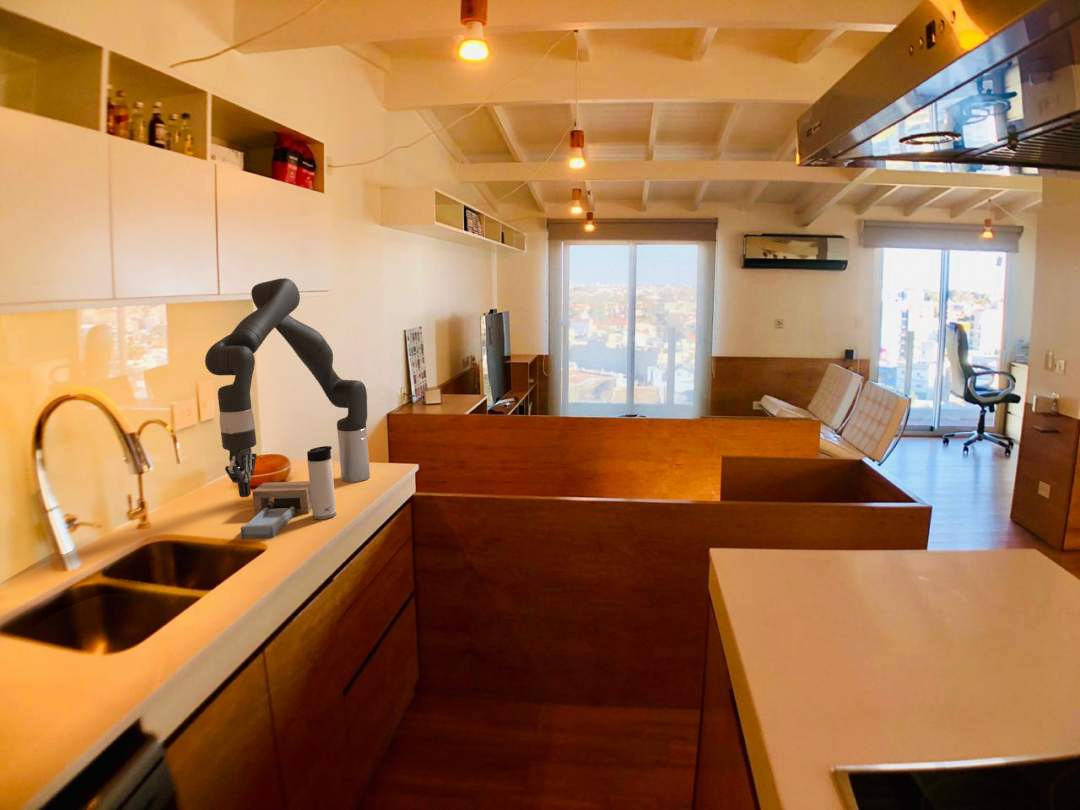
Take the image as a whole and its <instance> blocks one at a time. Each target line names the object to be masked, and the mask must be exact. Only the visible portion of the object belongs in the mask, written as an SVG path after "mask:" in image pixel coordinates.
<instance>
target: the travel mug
mask: <svg viewBox="0 0 1080 810" xmlns="http://www.w3.org/2000/svg"><path fill="white" fill-rule="evenodd" d="M332 449H333V447H332V445H331V446H329V445H324V446H323V445H322V446H318V447H314V448H311V449H309V450H308V451H306V454H307V455H306V456H307V470H308V481H310V492H311V502H312V510H311V511H312V518H313V519H314V518H315V520H317V519H325V520H328V519H327V518H330V519H331V517H332V518H334V517H335V516H337V505H336V494H335V483H334V473H333V471H334V470H333V461H332V452H331V450H332Z"/></svg>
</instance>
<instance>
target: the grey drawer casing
mask: <svg viewBox="0 0 1080 810" xmlns="http://www.w3.org/2000/svg"><path fill="white" fill-rule="evenodd" d="M251 492H252V493H251V494H252V500H253V502H252V503H253V509H254V516H256V515H257V514H259V513H260V512H261V511H262V510H263V509H264V508H267V507H268V509H274V507H295V506H296V507H297V506H298V505H300V506H299V508H298V509H297V514H298V515H299V514H300V513H303V514H309V513H310V512H311V511H312V510H311V509H312V502H311V492H310V481H309V480H308V481H307V480H306V481H279V482H278V481H274V482H262V483H261V484H260V485H259V486H257V487H256V488H255V489H254V490H253V491H251ZM310 510H311V511H310ZM309 511H310V512H309ZM308 512H309V513H308ZM300 515H301V514H300Z"/></svg>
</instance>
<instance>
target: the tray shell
mask: <svg viewBox="0 0 1080 810" xmlns="http://www.w3.org/2000/svg"><path fill="white" fill-rule="evenodd" d="M295 515H296V513H295V506H289V508H272V509H268V507H267V508H264V509H263V510H262V511H261V512H260V513H259V514H257V515H254V517H253V518H252V519H251V520H250V521H249V522H247V523H246V524H245V525H242V526H240V533H241V539H262V538H264V539H266V538H268V539H270V538H274V537H276V535H278V533H280V531H281V530H283V528H284V527H285V526H286V525H287V524H288V523H289V522H290V521H291V520H292V518H294V516H295Z"/></svg>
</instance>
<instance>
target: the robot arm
mask: <svg viewBox="0 0 1080 810" xmlns="http://www.w3.org/2000/svg"><path fill="white" fill-rule="evenodd" d="M250 295H251V299H252V302H253V304H254V306H255V307H256V310H255V311H253V312H251V313H250V314H249V315H247V316H245V317H244V318H243V319H242V320H241V321H240V322H239V323H238V324H237V325H236V327H235V328H234V329H233V330H232V332H231V333H230V334H228V335H226V336H224V337H223V338H222V339H220V340H219V341H216V342H215V343H213V345H211V347H210V348H209V349H208V351H207V352H206V354H205V359H204V365H205V367H206V369H207V370H208V372H209V373H211V374H212V375H215V376H234V380H233V382H232V384H225V385H223V386H220V387H219V388H218V390H217V401H218V410H219V426H220V427H219V428H220V436H221V437H220V438H221V445H222V448H223V449H224V450H225V451H226V450H227V451H228V452H229V455H228V456H229V457H228V459H229V465H227V466H225V468H224V470H225V473H226V474H227V475H228V477H229V478H230V480H231V482H232V483H235V484H237V486H238V495H239V497H240V498H248V497H249V496H251V494H252V493H251V492H252V491H251V483H250V481H251V477H252V476H254V473H255V468H256V462H257V458H258V457H257V453H252V451H253V450H252V448H253V447H255V446H256V445H257V437H256V436H257V435H256V428H255V427H256V426H255V419H254V418H255V417H254V413H253V409H252V399H251V386H252V379H253V374H254V370H255V365H256V360H255V356H254V354H255V353H256V352H257V351H258V350H259V348H260V346H261V345H262V344H263V342H264V341H265V340H266V339H267V337H268V335H269V334H270V333H271V332H273V330H274V329H275V330H276V331H277V332H278V333H280V335H281V336H282V338H284V340H285V341H286V342H287V344H288V345H289V346H290V347H291V348H292V350H293V351H294V353H295V354H296V356H297V357H298V358H299V359H300V361H301V362H302V363H303V364H304V366H305V367H306V368H307V369H308V370H309V372H310V373H311V375H312V376H313V377H314V378H315V380H316V381H317V382H318V385H320V387H321V389H322V391H323V392H324V394H325V396H326V398H327V399H328V400H329V402H330V404H332V405H333V406H334V407H337V408H340V409H347V415H346V417H343V418H340V419H338V420H337V421H336V431H337V441H338V442H337V443H338V452H339V453H338V454H339V455H338V456H339V463H340V464H339V467H340V477H341V478H340V479H341V481H342V482H345V483H358V482H363V480H364V481H366V480H368V479H370V478H371V474H370V473H371V472H370V457H369V444H368V433H367V432H368V430H367V420H368V393H367V388H366V385H365V384H364V383H363V382H362V381H361V380H354V379H343V378H341V377H340V376H339V375H338V374H337V373H336V371H335V370H334V368H333V365H334V364H333V363H334V353H333V349H332V348H331V346H330V345H329V343H328V342H327V340H326V339H325V337H324V336H323V335H322V334H321V333H320V332H319V331H318V330H316V329H314V328H313V327H311V326H309V325H307V324H306V323H303V322H301V321H299V320H298V319H295V318H294V317H292V315H290V314H291V313H292V312H293V311H295V310H296V309H297V307H298V306H299V305H300V302H301V301H300V300H301V295H300V291H299V287H297V284H295V281H293V280H291V279H290V278H284V277H283V278H277V279H273V280H268V281H263V282H260V283H257V284H254V285H253V287H252V289H251V293H250Z"/></svg>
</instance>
